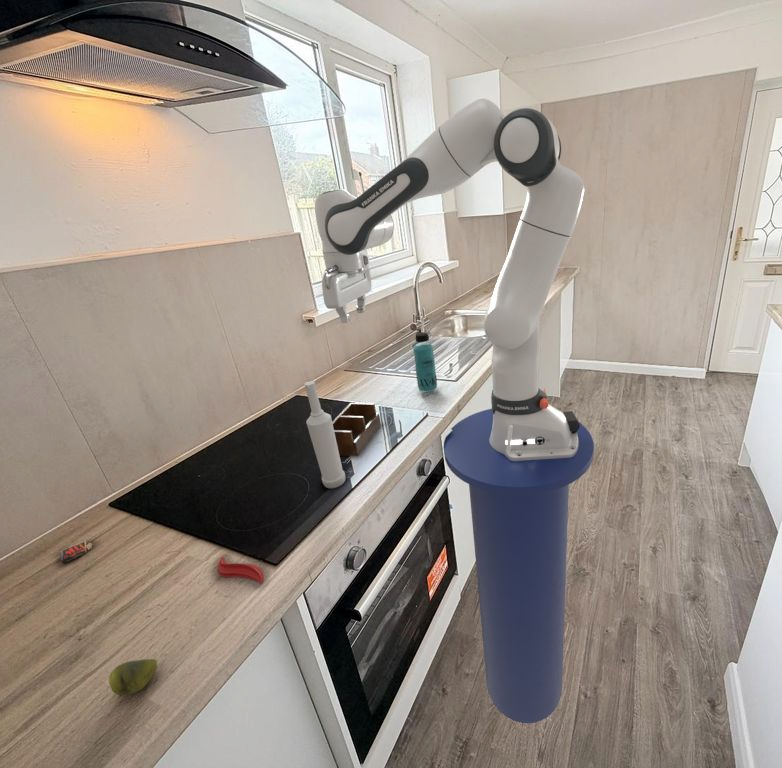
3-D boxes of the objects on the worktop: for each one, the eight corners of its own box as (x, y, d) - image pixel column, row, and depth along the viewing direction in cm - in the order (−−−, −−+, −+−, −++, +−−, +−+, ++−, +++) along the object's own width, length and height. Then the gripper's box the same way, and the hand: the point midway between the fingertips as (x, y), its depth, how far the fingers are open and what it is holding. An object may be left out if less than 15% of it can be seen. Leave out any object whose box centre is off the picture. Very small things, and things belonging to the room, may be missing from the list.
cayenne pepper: (210, 565, 75) (207, 558, 74) (235, 549, 78) (232, 541, 77) (243, 597, 68) (239, 589, 67) (269, 578, 71) (266, 570, 70)
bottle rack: (381, 425, 118) (377, 403, 115) (358, 456, 104) (353, 432, 101) (354, 424, 119) (350, 402, 117) (328, 454, 106) (322, 431, 103)
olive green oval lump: (113, 693, 56) (97, 670, 53) (152, 661, 59) (138, 638, 57) (128, 711, 53) (111, 688, 51) (168, 676, 57) (154, 653, 55)
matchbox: (65, 564, 77) (64, 563, 77) (56, 554, 80) (55, 552, 80) (95, 548, 81) (94, 546, 81) (86, 538, 84) (85, 536, 84)
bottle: (350, 478, 95) (327, 380, 85) (333, 491, 92) (307, 390, 81) (336, 472, 98) (311, 376, 88) (318, 484, 94) (291, 385, 84)
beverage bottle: (414, 392, 136) (406, 334, 128) (430, 385, 140) (423, 329, 132) (426, 398, 132) (418, 338, 123) (442, 391, 135) (436, 332, 127)
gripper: (335, 269, 92) (347, 328, 98) (371, 256, 110) (379, 307, 116) (310, 270, 93) (323, 329, 99) (349, 257, 111) (359, 307, 117)
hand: (354, 317), depth 108 cm, fingers open, 8 cm apart
